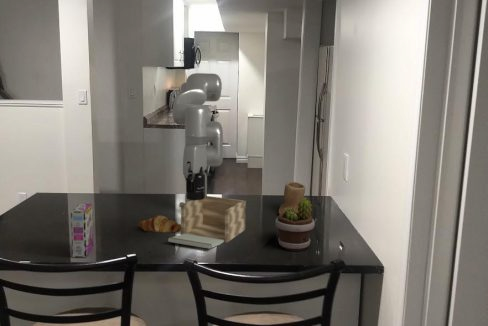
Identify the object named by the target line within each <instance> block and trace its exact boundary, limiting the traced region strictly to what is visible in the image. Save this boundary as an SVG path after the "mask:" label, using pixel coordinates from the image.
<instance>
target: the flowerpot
mask: <svg viewBox="0 0 488 326" xmlns="http://www.w3.org/2000/svg"><path fill="white" fill-rule="evenodd" d="M302 197H303V196H302ZM311 203H312V201H311V199H309V198H308V197H307V196H304V197H303V199H301V201H299V203H298V204H297V205H298V208H297V209H298V210H297V211H299V212H295V211H294V209H292V208H291V209H289V208H288V209H286V211H285V213H281V214H279V215H278V216H277V217H276V219H275V220H274V221H275V224H274V225H275V226H276V228H277V232H278V238H277V239H278V241H277V242H278V243H279V245H280V247H281V248H283V249H285V250H286V251H291V252H292V251H293V252H301V251H304V250H306V249H307V248H308V247H309V246H310V244H311V238H310V236H311V233H312V230H313V229H315V225H316V224H315V219H314V218H313V217H312V213H311V212H312V211H313V204H311ZM295 209H296V208H295Z"/></svg>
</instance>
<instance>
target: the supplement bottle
mask: <svg viewBox="0 0 488 326" xmlns="http://www.w3.org/2000/svg"><path fill="white" fill-rule="evenodd" d="M202 171H203V168H202V167H200V171H199V173H197V174H195V177H194V182H195V192H194V193H191V192H186V191H185V199H186V198H187V199H189V200H203V199H204V198H205V175H204V174H203V173H202ZM190 172H191V171H190ZM191 173H192V172H191ZM190 176H191V177H192V175H190Z"/></svg>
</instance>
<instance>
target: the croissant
mask: <svg viewBox="0 0 488 326" xmlns="http://www.w3.org/2000/svg"><path fill="white" fill-rule="evenodd" d="M137 226H138V227H139V228H141V229H142V230H143V231H144V232H146V231H147V233H149V232H155V233H181V223H180V224H179V223H178V222H177V221H176V220H175V219H169V217H166V216H164V215H160V214H157V215H155V216H154V217H150V218H149V219H144V220H141V221H138V222H137Z"/></svg>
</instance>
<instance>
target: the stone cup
mask: <svg viewBox="0 0 488 326" xmlns="http://www.w3.org/2000/svg"><path fill="white" fill-rule="evenodd" d="M305 193H306V186H305V185H304V184H303V183H300V182H297V181H288V182H287V183H286V184H285V185H284V191H283V198H284V203H281V204H280V206H279V209H278V214H279V215H280V214H281V213H285V211H286V209H288V208H289V209H291V208H292V209H294V211H295V212H299V211H297V210H298V209H297V208H298V205H297V204H298V203H299V201H301V199H303V197H304V198H305V195H306V194H305ZM302 196H303V197H302ZM295 208H296V209H295Z"/></svg>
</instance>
